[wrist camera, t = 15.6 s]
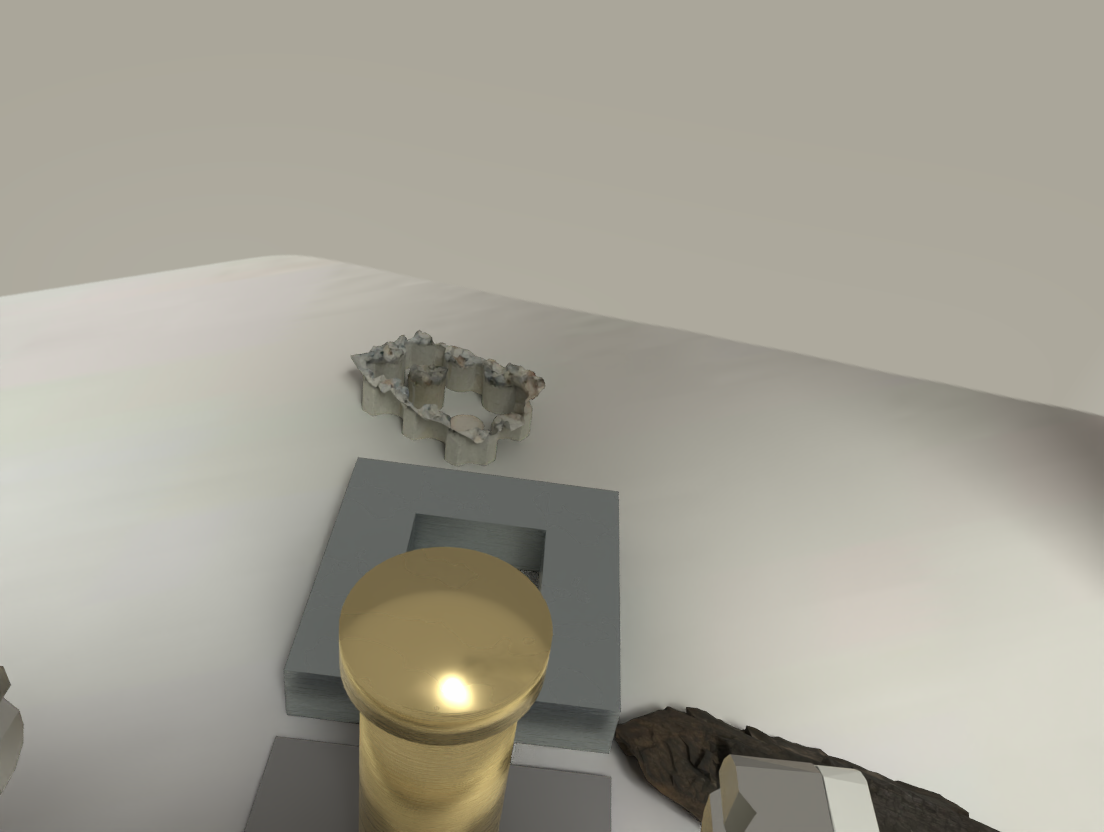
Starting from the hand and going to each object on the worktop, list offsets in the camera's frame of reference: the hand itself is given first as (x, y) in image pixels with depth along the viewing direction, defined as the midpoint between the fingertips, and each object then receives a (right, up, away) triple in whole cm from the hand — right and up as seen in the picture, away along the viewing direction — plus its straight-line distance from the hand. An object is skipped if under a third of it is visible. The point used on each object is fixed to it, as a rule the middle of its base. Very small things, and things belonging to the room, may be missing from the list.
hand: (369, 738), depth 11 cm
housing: (-2, -6, +36) cm, 36 cm away
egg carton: (-5, +3, +48) cm, 49 cm away
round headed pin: (-3, -13, +25) cm, 28 cm away
